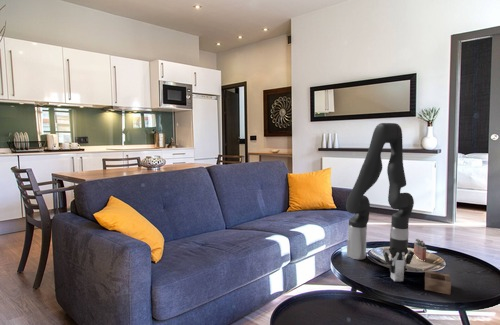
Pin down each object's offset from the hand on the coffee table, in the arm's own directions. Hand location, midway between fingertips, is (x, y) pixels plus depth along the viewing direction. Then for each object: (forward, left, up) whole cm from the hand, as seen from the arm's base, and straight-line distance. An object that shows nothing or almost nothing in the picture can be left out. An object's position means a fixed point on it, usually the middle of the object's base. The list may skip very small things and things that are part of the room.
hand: (397, 272), depth 149 cm
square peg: (0, 0, -3) cm, 3 cm away
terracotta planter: (+9, +30, -4) cm, 32 cm away
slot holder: (+16, 0, -4) cm, 16 cm away
